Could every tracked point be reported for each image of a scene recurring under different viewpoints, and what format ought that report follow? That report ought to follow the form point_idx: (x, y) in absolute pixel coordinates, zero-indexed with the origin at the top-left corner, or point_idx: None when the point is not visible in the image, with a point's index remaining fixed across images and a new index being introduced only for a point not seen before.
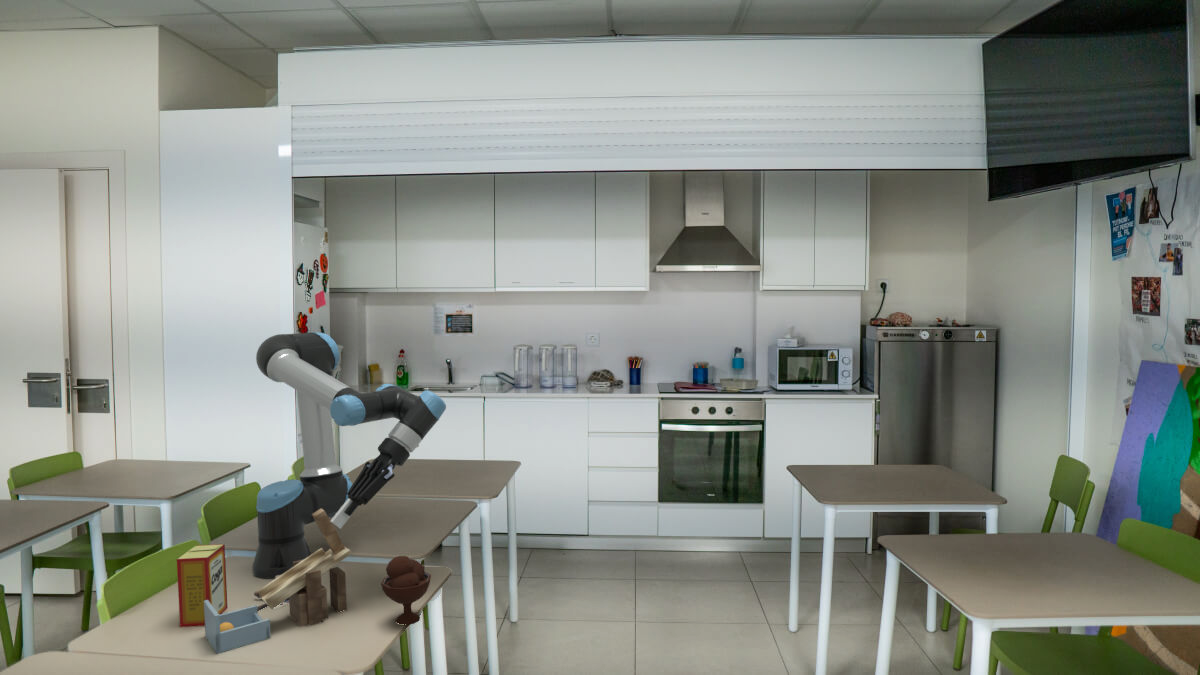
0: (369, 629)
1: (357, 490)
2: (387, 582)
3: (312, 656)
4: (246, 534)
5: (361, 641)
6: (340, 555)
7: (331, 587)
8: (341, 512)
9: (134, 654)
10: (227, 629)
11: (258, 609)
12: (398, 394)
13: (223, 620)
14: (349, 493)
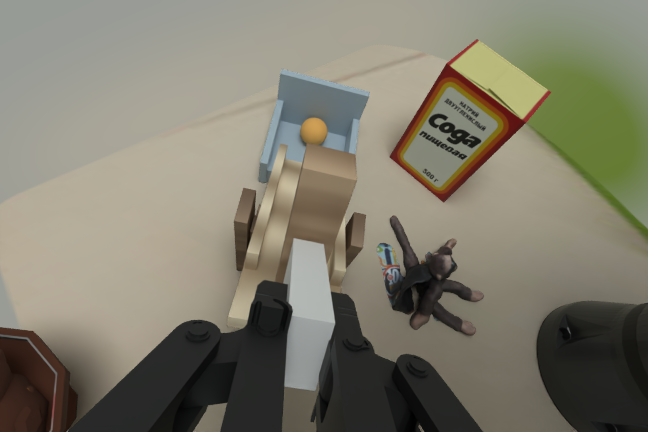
0: (102, 313)
1: (337, 407)
2: (47, 371)
3: (117, 182)
4: None
5: (70, 267)
6: (243, 288)
7: None
8: (290, 270)
9: (366, 73)
10: (302, 125)
11: (392, 223)
12: None
13: (348, 141)
14: (396, 364)
